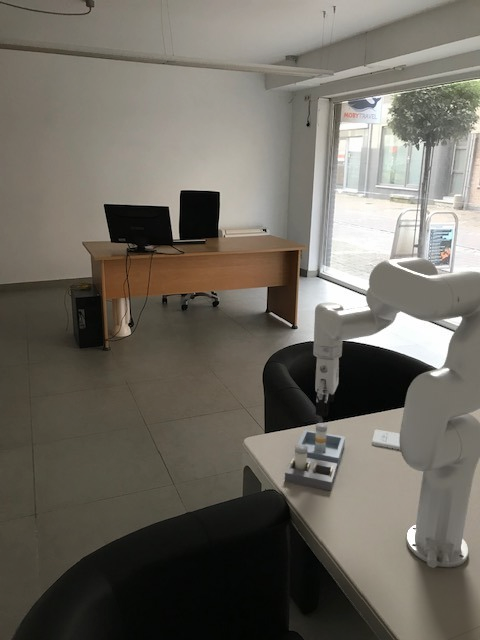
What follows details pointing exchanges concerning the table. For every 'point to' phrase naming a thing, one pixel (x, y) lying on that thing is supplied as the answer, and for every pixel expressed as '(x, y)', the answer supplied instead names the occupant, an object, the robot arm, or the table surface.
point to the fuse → (300, 457)
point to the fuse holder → (312, 473)
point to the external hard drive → (386, 439)
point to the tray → (332, 447)
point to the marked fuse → (320, 438)
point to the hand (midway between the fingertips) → (324, 408)
